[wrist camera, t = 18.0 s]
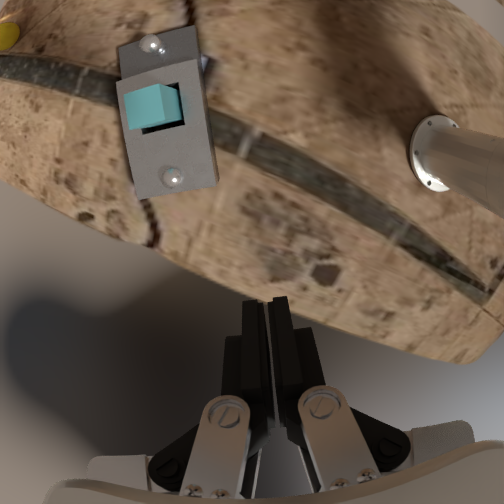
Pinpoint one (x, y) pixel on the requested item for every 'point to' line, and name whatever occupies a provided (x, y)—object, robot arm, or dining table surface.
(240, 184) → the dining table surface
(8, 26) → the lemon
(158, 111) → the pin
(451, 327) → the dining table surface
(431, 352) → the dining table surface
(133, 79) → the grey slotted base
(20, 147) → the dining table surface
